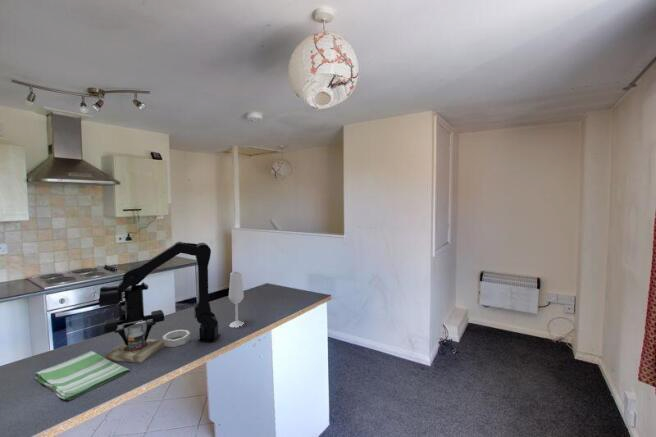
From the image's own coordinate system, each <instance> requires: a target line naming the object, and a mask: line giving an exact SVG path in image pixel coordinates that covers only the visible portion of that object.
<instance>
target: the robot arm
mask: <svg viewBox="0 0 656 437" xmlns="http://www.w3.org/2000/svg"><path fill="white" fill-rule="evenodd" d="M179 254H183V255H184V254H185V255H190V256H195V260H196V264H197V290H198V291H197V296H198V298H197V303H195V302H194V303H193V307H194V311H193V315H194V319H196V321H197V322H198V324H200V325H199V326H200V327H198V328H199V329H198V330H199V332H198V334H199V339H197V341H198V342H204V343H213V342H215V341H216V340H218V338H219V337H220V336H221V334H220V333H219V322H218V319H217V316H216V314H215V313H214V312H212V310H211V305H210V301H209V268H208V267H209V263H210V259H211V254H212V250H211V248H210V245H208V243H205V242H198V243H193V242H182V241H177V242H175V243H174V244H173V245H171V246H169V247H168V248H167V249H165V250H164V251H162V252H160V253H158V254H156V256H154V257H152V258H151V259H148V260H147V261H145V262H141V263H139V264H137V265H134V266H131V267H130V268H128V269H127V270H126V271H125V273H124V274H123V276H122V281H120V282H119V284H118V285H112V286H101V287H100V288H99V297H98V306H99V307H100V308H102V307H109V306H116V305H117V306H118V305H120V303H121V302H123V301H124V305H120V315H125V319H121V320H119V319H118V317H115V318H110V319H105V321H104V322H103V331H104V333H106V334H107V333H111V332H114V333H115V334H117V333H118V334H119V336H120V337H121V339H122V341H123V343H124V342H125V344H126V345H127V333H126V328H125V326H127V325H134V324H139V323H142V322H145V327H144V328H145V329H144V332H145V341H146V340H147V339H148V336H149V334H150V331H151V330H152V328H153V326H155V325H156V324H157V323H160V322H163V321H164V322H165V313H164V311H163V310H162V309H157V310H153V311H151V312H150V314H148V315H145V310H144V307H145V306H144V290H145V291H146V290H149V285H148V284H147V283H145V282H144V281H143V280H144V279H146V277H148V275H150V274H151V273H152V272H153V271H155V270H156V269H157V268H159V267H161V266H162V265H164V264H165V263H167V262H168V261H171V260H172V259H173V258H175V257H177V256H178V255H179ZM142 281H143V282H142ZM140 283H141V284H140Z"/></svg>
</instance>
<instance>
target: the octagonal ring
mask: <svg viewBox="0 0 656 437" xmlns="http://www.w3.org/2000/svg"><path fill="white" fill-rule="evenodd" d="M178 337H179V338H178ZM162 340H164V347H169V348H176V347H178V346H182V345H186V344H187V343H188V342H190V341H191V332H190V331H189V330H188V329H176V330H173V331H172V330H171V331H169V332H167V333H166V334H164V335H162Z"/></svg>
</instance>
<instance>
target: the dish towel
mask: <svg viewBox="0 0 656 437" xmlns="http://www.w3.org/2000/svg"><path fill="white" fill-rule="evenodd" d="M130 372H131V370H130V369H129V368H127V367H125V366H122V365H121V364H119V363H115V362H114V361H112V360H108V359H106V357H104V356H102V355H100V354H98V353H97V352H95V351H94V350H90V351H88V352H85V353H83V354H80V355H79V356H76V357H74V358H70V359H69V360H66V361H63V362H61V363H59V364H55V365H54V366H50V367H48V368H45V369H42V370H39V371H37V372H35V373H34V376H35V377H34V379H35V380H36V381H37V382H39V383H40V385H43V386H45V387H47V388H48V389H49V390H50V391H52V392H54V394H55V395H56V396H57V397H59V399H62V400H68V401H72V400H73V399H76V398H78V397H80V396H82V395H84V394H86V393H89V392H90V391H93V390H94V389H96V388H99V387H100V386H103V385H105V384H106V383H109V382H111V381H113V380H114V379H115V380H116V379H119V378H121V377H123V376H126V375H127V374H129V373H130Z"/></svg>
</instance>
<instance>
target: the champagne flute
mask: <svg viewBox="0 0 656 437" xmlns="http://www.w3.org/2000/svg"><path fill="white" fill-rule="evenodd" d="M228 287H229V288H228V289H229V290H228V300H229V301H230V302H231V303H232V304H233V305H234V315H235V317H234V318H235V320H234V321H232V322H231V323H229V324H230V325H229V324H228V326H229V327H230V328H234V327H235V328H240V327H239V326H241V327H243V326H244V325H245V322H243V321H241V320H239V307H238V306H239V304H240V303H241V301H243V299H244V295H245V294H244V286H243V277H242V272H241V271H233V272H230V274H229V286H228ZM243 324H244V325H243ZM242 325H243V326H242Z"/></svg>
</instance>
